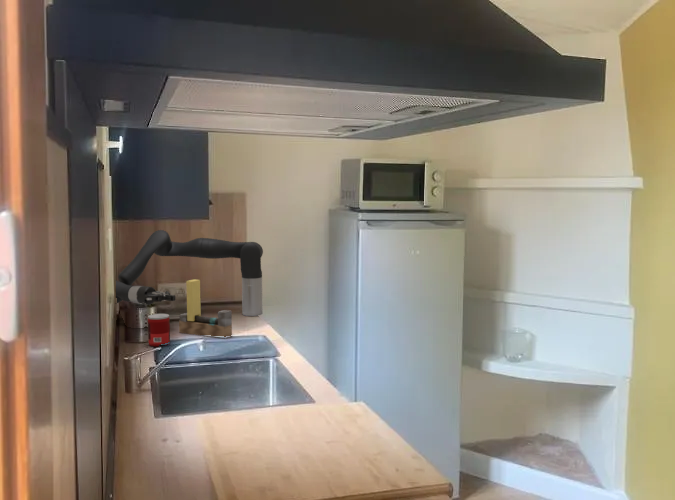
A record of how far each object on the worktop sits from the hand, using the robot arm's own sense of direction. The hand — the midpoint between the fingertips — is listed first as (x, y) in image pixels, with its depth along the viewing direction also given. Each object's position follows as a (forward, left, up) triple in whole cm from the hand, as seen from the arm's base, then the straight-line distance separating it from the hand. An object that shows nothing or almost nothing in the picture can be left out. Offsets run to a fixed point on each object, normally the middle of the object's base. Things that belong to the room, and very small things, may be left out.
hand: (174, 298), depth 272 cm
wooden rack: (+10, +12, -13) cm, 21 cm away
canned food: (+21, -5, -14) cm, 26 cm away
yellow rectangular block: (+6, +8, -8) cm, 13 cm away
